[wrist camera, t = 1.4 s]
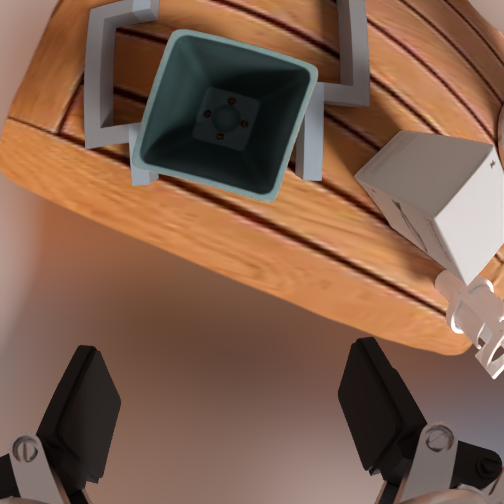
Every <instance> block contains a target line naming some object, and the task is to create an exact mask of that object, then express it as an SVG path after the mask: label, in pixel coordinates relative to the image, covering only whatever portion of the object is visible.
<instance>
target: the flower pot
mask: <svg viewBox="0 0 504 504" xmlns="http://www.w3.org/2000/svg"><path fill="white" fill-rule="evenodd" d="M317 78H318V69H317V68H316V67H315V66H314V65H312V64H310V63H308V62H305V61H303V60H300V59H296V58H294V57H291V56H288V55H285V54H282V53H279V52H275V51H272V50H269V49H266V48H262V47H259V46H256V45H252V44H249V43H244V42H241V41H236V40H233V39H229V38H225V37H221V36H216V35H212V34H207V33H202V32H198V31H194V30H189V29H177V30H175V31H173V32H172V34H171V36H170V38H169V40H168V42H167V45H166V48H165V50H164V53H163V56H162V59H161V61H160V65H159V67H158V70H157V73H156V76H155V79H154V82H153V85H152V88H151V91H150V94H149V98H148V101H147V104H146V108H145V111H144V114H143V118H142V121H141V125H140V128H139V132H138V136H137V139H136V143H135V147H134V150H133V156H132V163H133V165H134V166H135V167H137V168H139V169H142V170H146V171H151V172H155V173H159V174H164V175H168V176H173V177H177V178H181V179H185V180H189V181H193V182H197V183H200V184H204V185H208V186H212V187H214V188H218V189H222V190H225V191H229V192H232V193H236V194H239V195H242V196H246V197H249V198H252V199H255V200H259V201H262V202H273V201H274V200H275V199H276V197H277V195H278V192H279V190H280V187H281V183H282V181H283V178H284V174H285V171H286V168H287V165H288V162H289V159H290V155H291V153H292V149H293V146H294V143H295V141H296V138H297V135H298V132H299V129H300V126H301V123H302V120H303V117H304V114H305V111H306V108H307V106H308V103H309V100H310V98H311V95H312V92H313V89H314V86H315V84H316V82H317ZM230 99H234V100H235V103H234V104H230V103H229V100H230ZM207 111H209V112H211V115H210V116H209V117H206V116H205V113H206V112H207ZM243 121H246V122H247V123H248V125H247V126H246V127H243V126H242V125H241V123H242V122H243ZM218 134H223V135H224V138H223V139H221V140H219V139H218V138H217V135H218Z"/></svg>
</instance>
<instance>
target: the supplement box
mask: <svg viewBox="0 0 504 504" xmlns="http://www.w3.org/2000/svg"><path fill="white" fill-rule="evenodd" d="M354 178H355V179H356V180H357V182H358V183H359V184H360V185H361V186H362V187H363V188H364V190H365V191H366V192H367V193H368V195H369V196H370V197H371V198H372V200H373V201H374V202H375V204H376V205H377V206H378V208H379V209H380V211H381V212H382V213H383V215H384V216H385V218H386V219H387V221H388V222H389V224H390V226H391V227H392V228H393V229H395V230H396V231H398V232H399V233H400V234H402V235H403V236H404V237H406V238H407V239H408V240H410V241H411V242H412V243H413V244H415V245H416V246H417V247H419V248H420V249H421V250H423V251H424V252H425V253H426V254H428V255H429V256H430V257H432V258H433V259H434V260H435V261H437V262H438V263H439V264H440V265H442V266H443V267H444V268H446V269H447V270H448V271H449V272H450V273H452V274H453V275H454V276H455V277H456V278H458V279H459V280H460V281H461V282H462V283H463V284H465V285H466V286H468V285H469V284H470V283H471V282H472V280H473V279H474V278H475V277H476V276H477V275H478V274H479V273H480V271H481V270H482V269H483V268H484V267H485V266H486V264H487V263H488V262H489V261H490V260H491V258H492V257H493V256H494V255H495V253H496V252H497V251H498V249H499V248H500V247H501V245H502V244H503V243H504V171H503V169H502V166H501V163H500V160H499V158H498V155H497V153H496V150H495V147H494V146H493V145H491V144H487V143H482V142H477V141H473V140H467V139H462V138H456V137H450V136H444V135H437V134H430V133H422V132H414V131H405V130H400V131H399V132H398V133H397V134H396V135H395V136H394V137H393V138H392V139H391V140H390V141H389V142H388V143H387V144H386V145H385V146H384V147H383V148H382V149H381V150H380V151H378V152H377V153H376V154H375V155H374V156H373V157H372V158H371V159H370V160H369V161H368V162H367V163H366V164H365V165H364V166H363V167H362V168H361V169H360V170H359V171H358V172H357V173H356V174H355V175H354Z"/></svg>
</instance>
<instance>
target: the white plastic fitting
mask: <svg viewBox="0 0 504 504" xmlns="http://www.w3.org/2000/svg"><path fill="white" fill-rule="evenodd" d="M483 284H485V286H484V285H483ZM435 289H436V290H437V291H438V292H440V293H441V294H442V295H443V296H444V297H445V298H446V299H447V300H448V301H449V302H450V304H449V306H448V309H447V313H446V321H447V324H448V325H449V326H450V328H451V329H452V330H453V331H454V332H455V333H465V334H466V336H467V337H468V338H469V339H470V340H471V341H472V342H473V343H474V344H475V346H476V347H477V348H478V349H480V348H481V346H480V345H478V338H479V336H480V337H481V338H482V339H483V340H484V342H485V343H486V344H485V345H484V346H483V347H482V349H480V351H479V352H478V353H477V354H476V355H475V357H476V358H477V359H478V360H479V362H480V363H481V364H482V365H483V366H484V368H485V369H486V370H487V372H488V373H489V374H490V375H491V377H492V378H493V379H495V378H496V377H497V376H498V375H499V373H501V372H502V370H503V369H504V354H503V355H502V356H501V357H500V358H498V359H497V360H495V361H493V362H492V361H491V359H492V356H493V354H494V352H495V351H496V349H497V348H498V347H499V346H500V345H501V346H502V347H503V348H504V302H503V301H502V300H501V299H500V298H499V297H497V296H496V295H495V294H494V293H493V285H492V283H491V282H490V281H489V280H487V279H486V278H485V277H483V276H481V275H478V276H476V277H475V278H474V279H473V280H472V282H471V283H470V284H469V285H468V286H466V285H465V284H463V283H462V282H461V281H460V280H459V279H458V278H456V277H455V276H454V275H453V274H452V273H450V272H449V271H448V270H444V271H442V272H441V273H440V274H439V275H438V276H437V278H436V280H435ZM454 322H455V323H456V324H457V325H455V323H454Z"/></svg>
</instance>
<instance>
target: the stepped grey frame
mask: <svg viewBox="0 0 504 504" xmlns="http://www.w3.org/2000/svg"><path fill="white" fill-rule="evenodd" d="M336 1H337V14H338V29H339V51H340V84H333V83H325V82H316V84H315V86H314V89H313V92H312V95H311V98H310V100H309V103H308V106H307V108H306V111H305V114H304V117H303V120H302V123H301V126H300V129H299V132H298V135H297V138H296V167H295V175H297V176H298V177H300V178H301V179H302V180H319V181H321V180H322V159H323V126H324V104H327V105H337V106H345V107H353V108H359V107H368V106H370V69H369V46H368V31H367V19H366V8H365V0H336ZM159 2H160V0H122V1H118V2H114V3H110V4H107V5H103V6H100V7H96V8H93V9H90V16H89V24H88V32H87V42H86V54H85V72H84V130H85V148H86V149H89V148H95V147H101V146H108V145H115V144H122V143H129V148H130V164H131V177H132V186H137V185H149V184H151V183H153V182H154V181H155V180H157V179H158V178H159V176H158V173H155V172H151V171H146V170H142V169H139V168H137V167H135V166H134V165H133V163H132V156H133V150H134V147H135V143H136V139H137V136H138V132H139V128H140V125H141V122H139V123H132V124H125V125H118V126H114V118H113V76H114V52H115V38H116V28H119V27H123V26H128V25H133V24H138V23H143V22H149V21H155V20H158V14H159Z"/></svg>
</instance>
